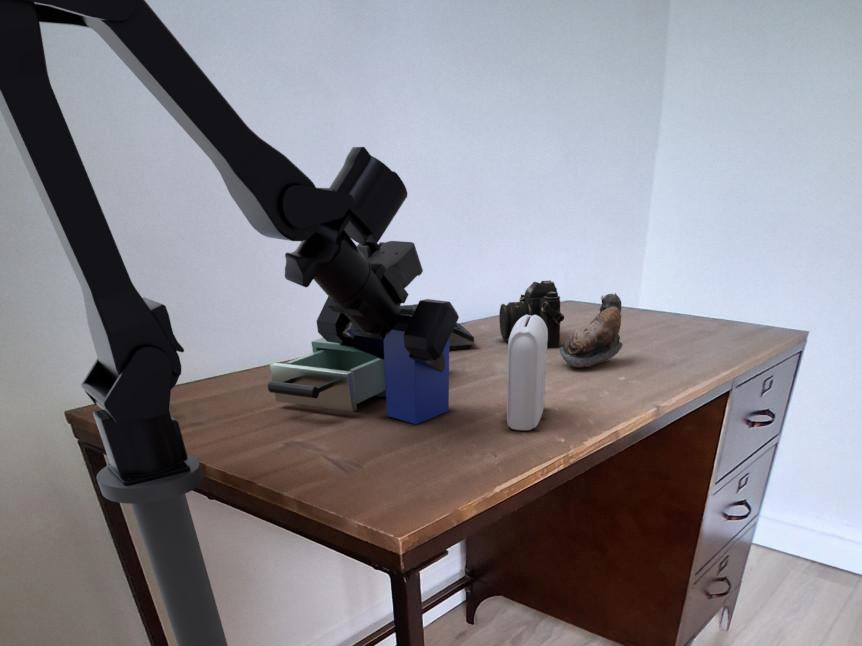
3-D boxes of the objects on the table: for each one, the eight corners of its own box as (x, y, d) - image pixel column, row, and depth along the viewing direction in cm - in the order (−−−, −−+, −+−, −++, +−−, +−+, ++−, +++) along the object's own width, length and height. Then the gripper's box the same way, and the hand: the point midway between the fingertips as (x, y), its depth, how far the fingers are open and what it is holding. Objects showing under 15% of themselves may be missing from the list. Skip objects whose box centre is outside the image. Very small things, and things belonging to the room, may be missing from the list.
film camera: (479, 335, 131) (479, 277, 125) (534, 328, 135) (536, 273, 129) (525, 353, 118) (527, 290, 112) (584, 346, 122) (588, 285, 116)
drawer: (333, 421, 84) (328, 381, 82) (255, 409, 89) (248, 372, 86) (406, 384, 98) (404, 349, 95) (336, 376, 102) (331, 342, 100)
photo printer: (515, 407, 92) (517, 308, 85) (546, 408, 91) (551, 309, 84) (503, 431, 84) (504, 323, 76) (537, 433, 83) (542, 324, 76)
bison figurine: (583, 374, 106) (589, 304, 100) (549, 366, 110) (553, 299, 104) (627, 361, 113) (635, 295, 107) (594, 354, 117) (599, 290, 111)
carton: (415, 424, 86) (413, 324, 79) (386, 415, 88) (382, 317, 81) (448, 411, 91) (449, 315, 83) (420, 403, 93) (418, 308, 85)
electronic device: (475, 349, 121) (475, 312, 117) (379, 355, 117) (376, 316, 114) (460, 336, 130) (459, 300, 126) (371, 340, 126) (368, 304, 123)
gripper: (445, 217, 69) (503, 317, 83) (320, 211, 78) (391, 303, 92) (400, 312, 68) (466, 397, 82) (279, 296, 77) (357, 375, 91)
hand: (419, 364), depth 87 cm, fingers open, 8 cm apart
